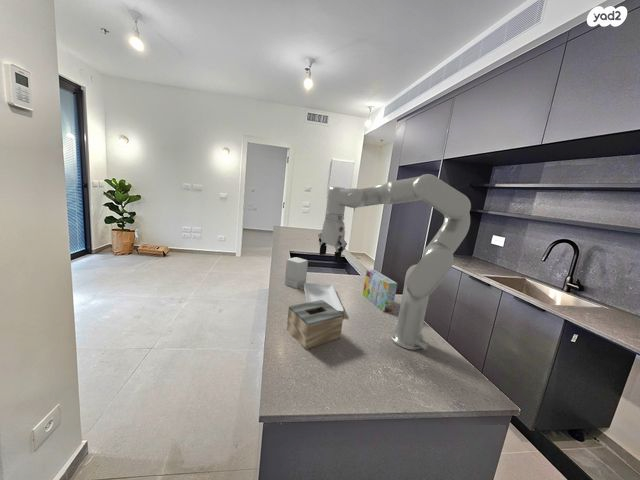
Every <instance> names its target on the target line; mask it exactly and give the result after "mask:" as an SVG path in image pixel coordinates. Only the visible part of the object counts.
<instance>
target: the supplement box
mask: <svg viewBox="0 0 640 480" xmlns="http://www.w3.org/2000/svg"><path fill="white" fill-rule="evenodd" d="M308 265H309V260H307V259H304V258H301V257H297V256H296V257H295V256H294V257H291V258H287V259H286V265H285V274H284V275H285V276H284V285H285V286H287V287H291V288H293V289H299V288H302V287H304V283H307V274H308V273H307V272H308Z"/></svg>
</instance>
